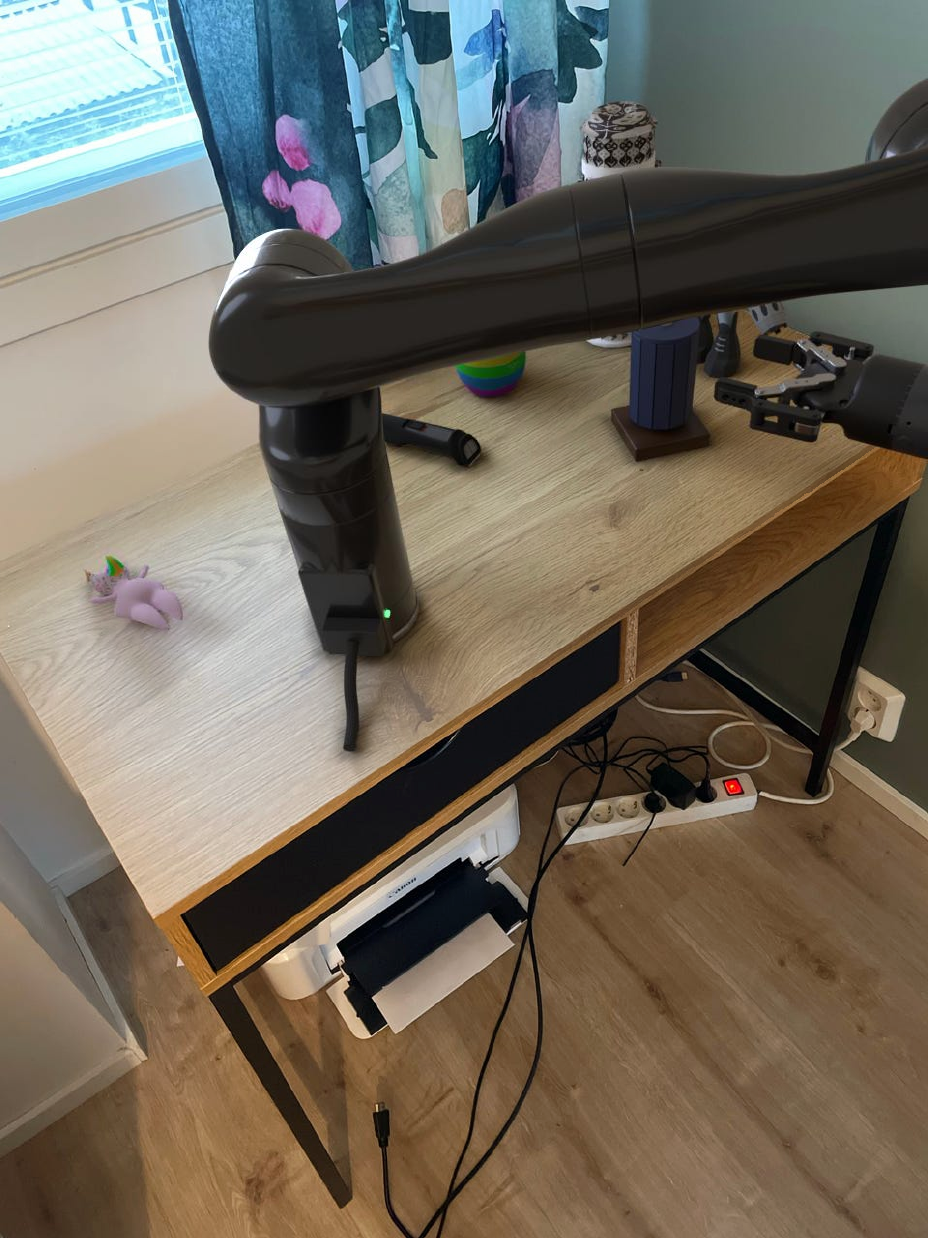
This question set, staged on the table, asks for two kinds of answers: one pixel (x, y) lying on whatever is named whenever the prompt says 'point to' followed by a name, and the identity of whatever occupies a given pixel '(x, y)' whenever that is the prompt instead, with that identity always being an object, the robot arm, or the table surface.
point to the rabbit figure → (135, 595)
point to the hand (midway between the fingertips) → (736, 366)
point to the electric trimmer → (431, 438)
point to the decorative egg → (493, 374)
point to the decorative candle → (617, 157)
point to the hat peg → (658, 436)
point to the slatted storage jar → (663, 374)
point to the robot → (733, 338)
